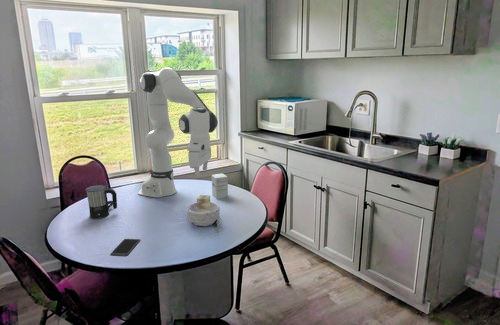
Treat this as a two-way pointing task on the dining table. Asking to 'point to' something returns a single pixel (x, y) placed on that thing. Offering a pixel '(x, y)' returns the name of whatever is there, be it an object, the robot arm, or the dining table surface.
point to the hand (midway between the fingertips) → (201, 172)
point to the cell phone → (125, 247)
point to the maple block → (203, 202)
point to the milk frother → (100, 201)
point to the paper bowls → (204, 214)
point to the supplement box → (219, 186)
